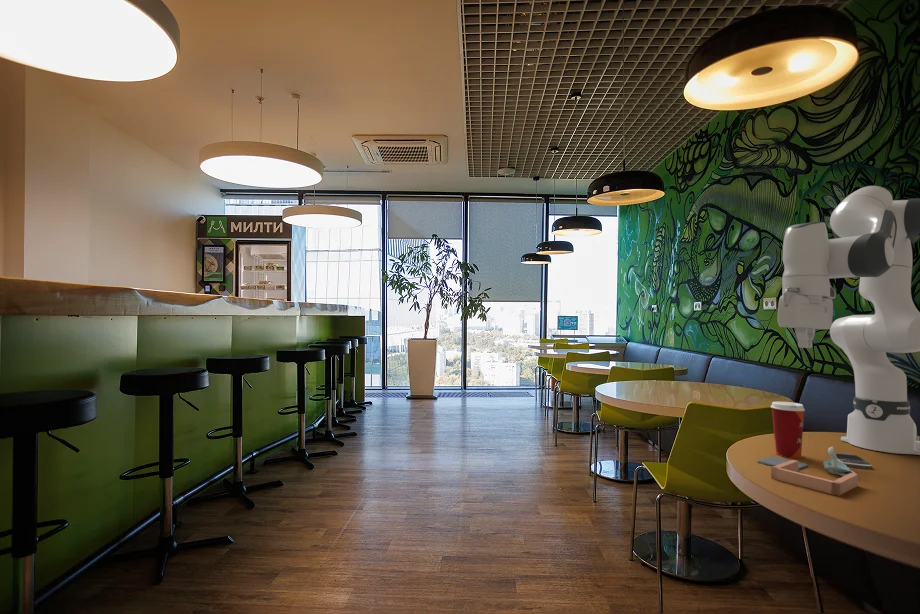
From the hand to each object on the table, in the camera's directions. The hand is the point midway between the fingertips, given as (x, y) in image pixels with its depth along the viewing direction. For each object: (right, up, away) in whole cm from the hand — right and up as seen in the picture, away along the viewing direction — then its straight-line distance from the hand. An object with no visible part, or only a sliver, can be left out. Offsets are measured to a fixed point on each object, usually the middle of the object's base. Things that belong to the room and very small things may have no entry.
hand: (805, 347), depth 105 cm
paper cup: (+8, -31, +17) cm, 36 cm away
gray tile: (+1, -30, +8) cm, 31 cm away
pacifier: (+10, -31, +2) cm, 32 cm away
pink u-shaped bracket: (-1, -30, -4) cm, 30 cm away
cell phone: (+20, -32, +11) cm, 39 cm away
